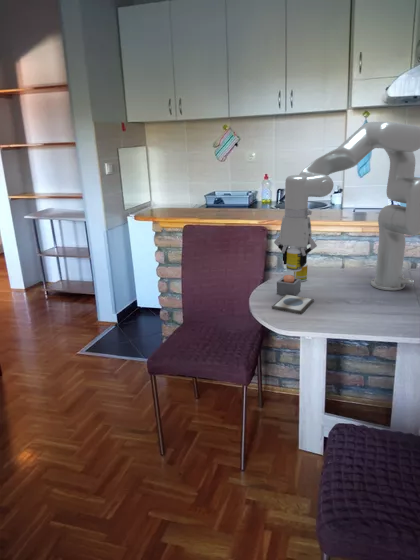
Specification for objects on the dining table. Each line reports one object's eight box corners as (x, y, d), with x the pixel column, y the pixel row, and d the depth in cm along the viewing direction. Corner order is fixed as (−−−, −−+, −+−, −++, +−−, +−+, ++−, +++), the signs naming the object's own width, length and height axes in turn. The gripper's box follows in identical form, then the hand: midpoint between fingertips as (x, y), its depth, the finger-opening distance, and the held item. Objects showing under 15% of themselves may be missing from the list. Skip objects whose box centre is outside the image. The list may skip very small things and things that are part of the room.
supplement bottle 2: (291, 278, 189) (291, 257, 186) (301, 276, 192) (302, 255, 188) (299, 282, 185) (299, 260, 182) (309, 280, 187) (310, 258, 184)
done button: (295, 283, 174) (295, 275, 173) (291, 286, 171) (292, 279, 170) (285, 281, 176) (285, 274, 175) (281, 284, 173) (282, 277, 172)
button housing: (300, 291, 176) (300, 278, 174) (293, 297, 170) (294, 284, 169) (283, 288, 179) (283, 276, 178) (276, 294, 174) (276, 281, 172)
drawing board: (313, 301, 165) (313, 298, 165) (301, 314, 155) (301, 311, 155) (285, 296, 171) (285, 293, 170) (271, 308, 160) (271, 305, 160)
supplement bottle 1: (298, 272, 155) (299, 245, 152) (283, 270, 158) (284, 243, 154) (304, 268, 159) (305, 241, 156) (289, 266, 162) (290, 239, 159)
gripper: (324, 212, 151) (321, 264, 157) (276, 209, 159) (275, 258, 165) (317, 217, 145) (314, 271, 151) (267, 213, 153) (267, 264, 159)
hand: (294, 264), depth 158 cm, fingers closed on supplement bottle 1, 5 cm apart
